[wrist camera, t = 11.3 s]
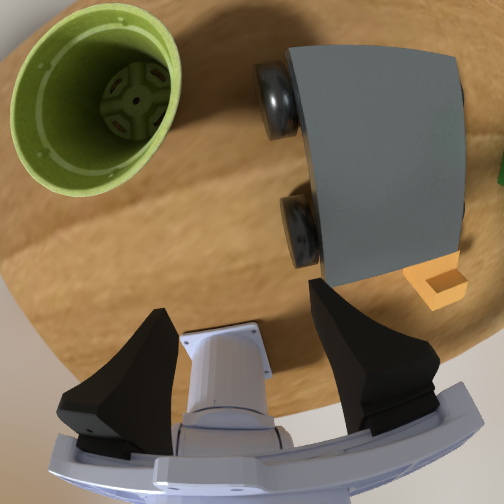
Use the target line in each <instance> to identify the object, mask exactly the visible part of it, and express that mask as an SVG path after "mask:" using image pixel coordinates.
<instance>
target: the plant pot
mask: <svg viewBox="0 0 504 504" xmlns="http://www.w3.org/2000/svg"><path fill="white" fill-rule="evenodd" d="M152 70H157V71H159V73H161V74H162V75H163V76H164V77H165V78H166V80H165V82H162V81H161V80H160V79H159V78H158V77H157V76H155V75H153V74H152V73H151V71H152ZM120 78H122V81H121V82H120V83H119V84H118V85H117V86H116V87H115V89H114V91H113V92H112V93H111V92H110V90H111V87H112V86H113V84H114V83H115V82H116V81H117V80H118V79H120ZM181 87H182V66H181V60H180V56H179V52H178V49H177V46H176V43H175V41H174V39H173V37H172V35H171V34H170V32H169V30H168V29H167V28H166V26H165V25H164V24H163V23H162V22H161V21H160V20H159V19H158V18H157V17H155V16H154V15H153V14H151V13H149V12H148V11H146V10H144V9H141V8H139V7H136V6H133V5H128V4H123V3H105V4H99V5H94V6H91V7H88V8H85V9H82V10H79V11H76V12H74V13H73V14H71V15H69V16H67V17H66V18H64V19H63V20H61V21H60V22H58V23H57V24H56V25H55V26H53V27H52V28H51V29H50V30H49V31H48V32H47V33H46V34H45V35H44V36H43V37H42V38H41V39H40V40H39V41H38V42H37V44H36V45H35V46H34V47H33V49H32V50H31V52H30V53H29V55H28V57H27V58H26V60H25V62H24V64H23V66H22V67H21V70H20V72H19V74H18V77H17V80H16V83H15V87H14V90H13V95H12V101H11V112H10V123H11V133H12V138H13V142H14V145H15V149H16V151H17V154H18V156H19V158H20V160H21V162H22V164H23V165H24V167H25V168H26V170H27V171H28V172H29V174H30V175H31V176H32V177H33V178H34V179H35V180H36V181H38V182H39V183H40V184H42V185H43V186H44V187H46V188H48V189H49V190H51V191H53V192H56V193H60V194H63V195H68V196H73V197H86V196H93V195H97V194H101V193H104V192H107V191H109V190H111V189H114V188H116V187H118V186H120V185H121V184H123V183H124V182H126V181H127V180H129V179H130V178H131V177H133V176H134V175H135V174H136V173H137V172H139V171H140V170H141V169H142V168H143V167H144V166H145V165H146V164H147V162H148V161H149V160H150V159H151V158H152V157H153V155H154V154H155V153H156V151H157V150H158V148H159V147H160V145H161V144H162V142H163V141H164V139H165V137H166V135H167V134H168V132H169V130H170V127H171V125H172V123H173V120H174V118H175V115H176V112H177V108H178V104H179V100H180V95H181ZM136 97H138V98H139V99H140V101H139V103H138V104H134V103H133V100H134V99H135V98H136ZM165 110H167V111H166V114H165V116H164V118H163V121H162V123H161V124H159V125H158V126H155V125H154V124H155V122H157V120H158V119H159V118H160V117H161V116H162V114H163V112H164V111H165ZM114 120H115V121H117V123H119V124H120V125H121V126H122V127H124V129H126V131H125V132H123V131H120V130H118V129H117V128H116V127H115V126H114V124H113V121H114Z"/></svg>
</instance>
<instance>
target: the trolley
mask: <svg viewBox="0 0 504 504" xmlns="http://www.w3.org/2000/svg"><path fill="white" fill-rule="evenodd" d="M285 56H286V61H287V65H288V69H289V73H290V77H291V80H290V77H289V75H288V72H287V70H286V68H285V66H284V64H283V63H282V62H281V61H280V60H278V61H270V62H264V63H258V64H253V78H254V84H255V90H256V95H257V99H258V104H259V108H260V112H261V116H262V120H263V123H264V127H265V130H266V133H267V135H268V138H269V140H270V141H272V140H277V139H282V138H288V137H294V136H296V135H297V131H298V115H299V120H300V125H301V130H302V135H303V141H304V147H305V152H306V158H307V164H308V171H309V177H310V184H311V190H312V197H313V205H314V212H315V220H316V228H317V233H316V228H315V223H314V219H313V216H312V213H311V209H310V207H309V204H308V202H307V199H306V198H305V196H304V195H303V194H298V195H293V196H288V197H283V198H280V208H281V215H282V220H283V226H284V231H285V235H286V240H287V244H288V248H289V252H290V255H291V259H292V262H293V265H294V267H295V269H298V268H302V267H307V266H311V265H316V264H318V262H319V256H320V266H321V277H322V279H323V280H324V281H325V282H326V283H327V284H328V285H329V286H330V287H331V288H332V287H336V286H340V285H344V284H348V283H352V282H355V281H359V280H363V279H367V278H371V277H374V276H378V275H382V274H385V273H389V272H392V271H396V270H399V269H403V268H406V267H410V266H413V265H416V264H420V263H423V262H426V261H430V260H433V259H436V258H439V257H442V256H446V255H449V254H452V253H455V252H457V250H458V244H459V238H460V231H461V224H462V221H463V218H464V213H465V202H464V193H465V173H466V142H465V122H464V110H463V106H464V94H463V89H462V85H461V83H460V79H459V73H458V68H457V63H456V58H455V57H452V56H448V55H443V54H438V53H433V52H427V51H421V50H414V49H406V48H397V47H386V46H371V45H318V46H303V47H292V48H288V49H287V50H286V52H285ZM291 82H292V84H291ZM292 86H293V87H292ZM296 105H297V106H296ZM297 110H298V115H297ZM317 237H318V239H317Z"/></svg>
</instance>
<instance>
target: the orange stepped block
mask: <svg viewBox="0 0 504 504" xmlns="http://www.w3.org/2000/svg"><path fill="white" fill-rule="evenodd" d="M459 253H460V250H459V249H458V250H457V252H455V253H452V254H449V255H446V256H442V257H439V258H436V259H433V260H430V261H426V262H423V263H420V264H416V265H413V266H410V267H406V268H404V269H403V275H404V276H405V278H406V279H407V280H408V281H409V282H410V284H411V285H412V286H413V287H414V288H415V290H416V291H417V292H418V293H419V295H420V296H421V297H422V298H423V300H424V301H425V302H426V304H427V305H428V306H429V307H430V309H431V310H432V311H434V310H436V309H439V308H441V307H444V306H446V305H449V304H451V303H453V302H456V301H458V300H460V299H462V298H464V294H465V291H466V287H467V284H468V280H467V279H466V278H465V277H464V276H463V275H462V274H461V273H460V272H459V271H458V270H457V269H456V268H457V264H458V259H459Z"/></svg>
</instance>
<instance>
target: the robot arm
mask: <svg viewBox="0 0 504 504" xmlns="http://www.w3.org/2000/svg"><path fill="white" fill-rule="evenodd" d="M308 282H309V292H310V302H311V312H312V316H313V320H314V323H315V327H316V330H317V332H318V335H319V337H320V340H321V342H322V345H323V347H324V350H325V352H326V354H327V357H328V359H329V362H330V364H331V367H332V370H333V373H334V377H335V381H336V384H337V388H338V392H339V396H340V400H341V405H342V409H343V413H344V418H345V422H346V428H347V432H348V435H346V436H343V437H339V438H335V439H331V440H328V441H323V442H319V443H314V444H310V445H305V446H300V447H294V445H293V441H292V438H291V436H290V434H289V433H288V432H287V431H286V430H285V429H284V428H283V427H282V426H275V424H274V416H268V407H267V398H266V389H265V380H264V379H269V378H271V377H272V371H271V368H270V365H269V361H268V358H267V354H266V351H265V348H264V344H263V341H262V337H261V334H260V330H259V327H258V324H257V323H255V322H251V323H245V324H240V325H235V326H229V327H223V328H218V329H212V330H205V331H199V332H193V333H186V334H182V335H181V336H180V340H181V342H182V344H183V346H184V347H185V349H186V351H187V353H188V354H189V356H190V358H191V360H192V370H191V379H190V388H189V398H188V408H187V413H183V421H182V423H174V424H173V426H171V395H172V386H173V381H174V375H175V369H176V363H177V357H178V348H179V335H178V333H177V331H176V329H175V327H174V325H173V323H172V322H171V320H170V318H169V316H168V314H167V312H166V310H165V308H159V309H154V310H153V311H152V312H151V313H150V314H149V316H148V317H147V318H146V319H145V321H144V322H143V323H142V324H141V326H140V327H139V328H138V330H137V331H136V332H135V333H134V335H133V336H132V337H131V338H130V339H129V340H128V342H127V343H126V344H125V345H124V346H123V347H122V349H121V350H120V351H119V352H118V353H117V354H116V355H115V356H114V357H113V358H112V359H111V360H110V361H109V362H108V363H107V364H106V365H104V366H103V367H102V368H101V369H100V370H98V371H97V372H96V373H95V374H93V375H92V376H91V377H89V378H88V379H87V380H85V381H84V382H82V383H81V384H79V385H77V386H76V387H74V388H72V389H70V390H68V391H67V392H65V393H63V395H62V398H61V401H60V403H59V406H58V409H57V411H56V413H57V415H58V417H59V418H60V420H62V421H63V422H64V423H65V424H66V425H67V426H69V427H70V428H71V429H72V430H74V431H75V432H76V433H78V434H79V436H78V439H76V438H74V437H71V436H68V435H64V434H60V433H59V434H58V436H57V439H56V442H55V445H54V449H53V453H52V456H51V460H50V464H49V468H48V471H49V472H51V473H53V474H54V475H56V476H58V477H60V478H61V479H63V480H66V481H67V482H69V483H71V484H73V485H75V486H77V487H80V488H82V489H86V490H88V491H91V492H95V493H98V494H101V495H104V496H107V497H111V498H115V499H118V500H122V501H126V502H130V503H135V504H351V502H350V497H351V496H354V495H357V494H360V493H363V492H366V491H369V490H371V489H374V488H377V487H379V486H382V485H385V484H387V483H389V482H392V481H394V480H397V479H399V478H401V477H403V476H406V475H408V474H410V473H412V472H414V471H416V470H418V469H420V468H422V467H424V466H426V465H428V464H430V463H432V462H434V461H435V460H437V459H439V458H441V457H443V456H445V455H446V454H448V453H450V452H452V451H453V450H455V449H457V448H458V447H460V446H461V445H463V444H464V443H465V442H466V441H467V440H468V439H470V438H471V437H472V436H473V435H474V434H475V433H476V432H477V431H478V430H479V429H480V428H481V427H482V426H484V421H483V419H482V417H481V415H480V413H479V411H478V409H477V407H476V405H475V403H474V401H473V399H472V398H471V396H470V394H469V392H468V390H467V389H466V387H465V385H464V383H463V382H459V383H457V384H455V385H453V386H451V387H450V388H448V389H446V390H444V391H442V392H441V393H439V394H438V395H437V396H436V395H435V393H434V390H435V386H434V384H433V382H432V380H433V378H434V376H435V374H436V372H437V370H438V368H439V365H440V358H439V357H438V355H437V354H436V352H435V350H434V349H433V348H432V346H431V345H430V344H429V343H428V342H427V341H424V340H420V339H417V338H413V337H410V336H407V335H404V334H401V333H399V332H396V331H394V330H392V329H390V328H387V327H385V326H383V325H381V324H379V323H377V322H376V321H374V320H372V319H371V318H369V317H367V316H366V315H364V314H363V313H361V312H360V311H359V310H357V309H356V308H355V307H353V306H352V305H351V304H349V303H348V302H347V301H346V300H345V299H343V298H342V297H341V296H340V295H339V294H338V293H337V292H335V291H334V290H333V289H332V288H331V287H330V286H329V285H328V284H327V283H326V282H325V281H324V280H323V279H322V278H317V279H312V280H308ZM252 330H255V331H252ZM186 341H187V342H186Z"/></svg>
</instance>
